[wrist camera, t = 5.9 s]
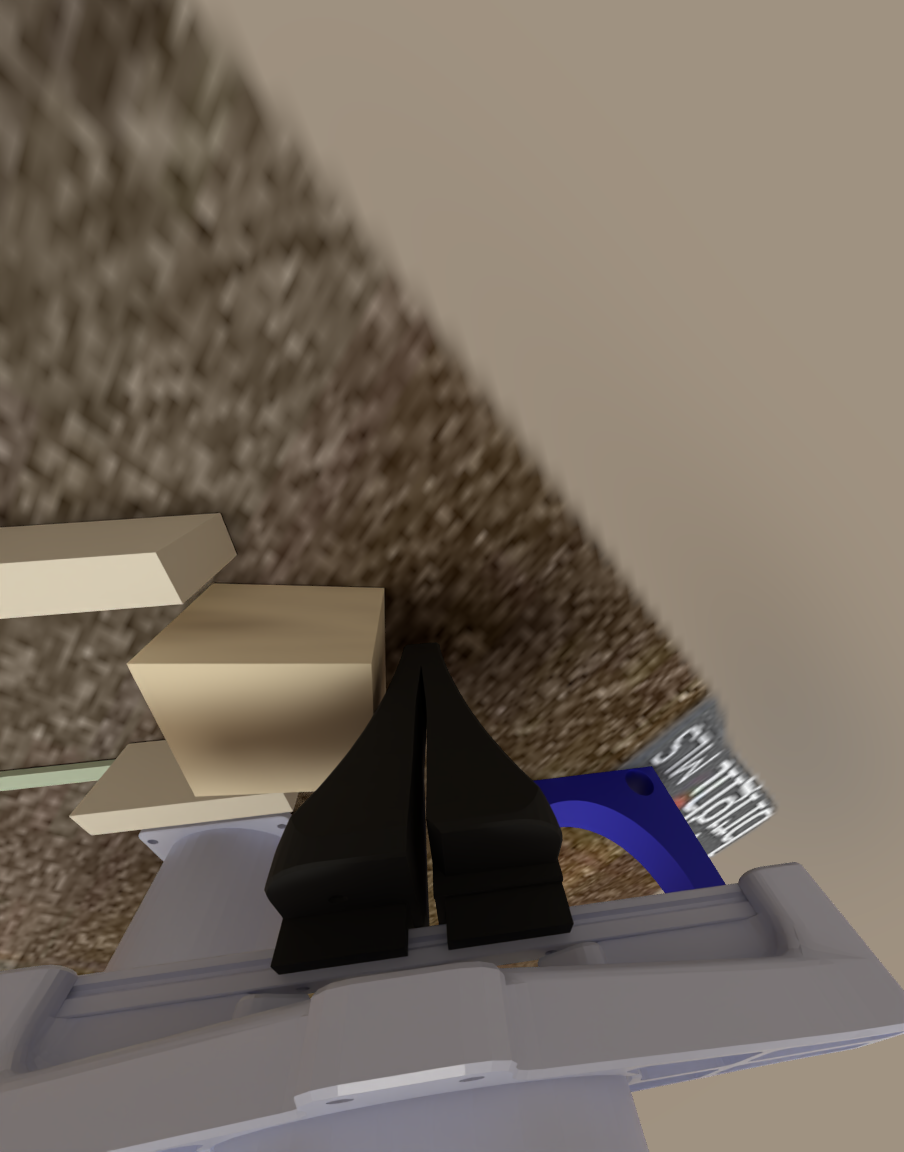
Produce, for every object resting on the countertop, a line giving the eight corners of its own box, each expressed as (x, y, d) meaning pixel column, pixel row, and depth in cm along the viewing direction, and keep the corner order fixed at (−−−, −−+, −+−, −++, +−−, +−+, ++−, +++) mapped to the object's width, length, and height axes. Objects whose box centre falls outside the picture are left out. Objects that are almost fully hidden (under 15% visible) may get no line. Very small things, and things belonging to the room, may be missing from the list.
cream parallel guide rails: (312, 745, 16) (293, 811, 14) (144, 763, 16) (91, 835, 13) (220, 513, 11) (155, 552, 8) (-50, 530, 10) (-212, 578, 8)
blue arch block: (460, 824, 22) (473, 957, 17) (457, 786, 20) (471, 926, 15) (634, 802, 23) (698, 924, 17) (650, 763, 20) (729, 890, 15)
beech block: (385, 698, 15) (376, 788, 12) (248, 700, 15) (195, 796, 11) (384, 587, 12) (371, 663, 9) (212, 583, 12) (126, 663, 8)
